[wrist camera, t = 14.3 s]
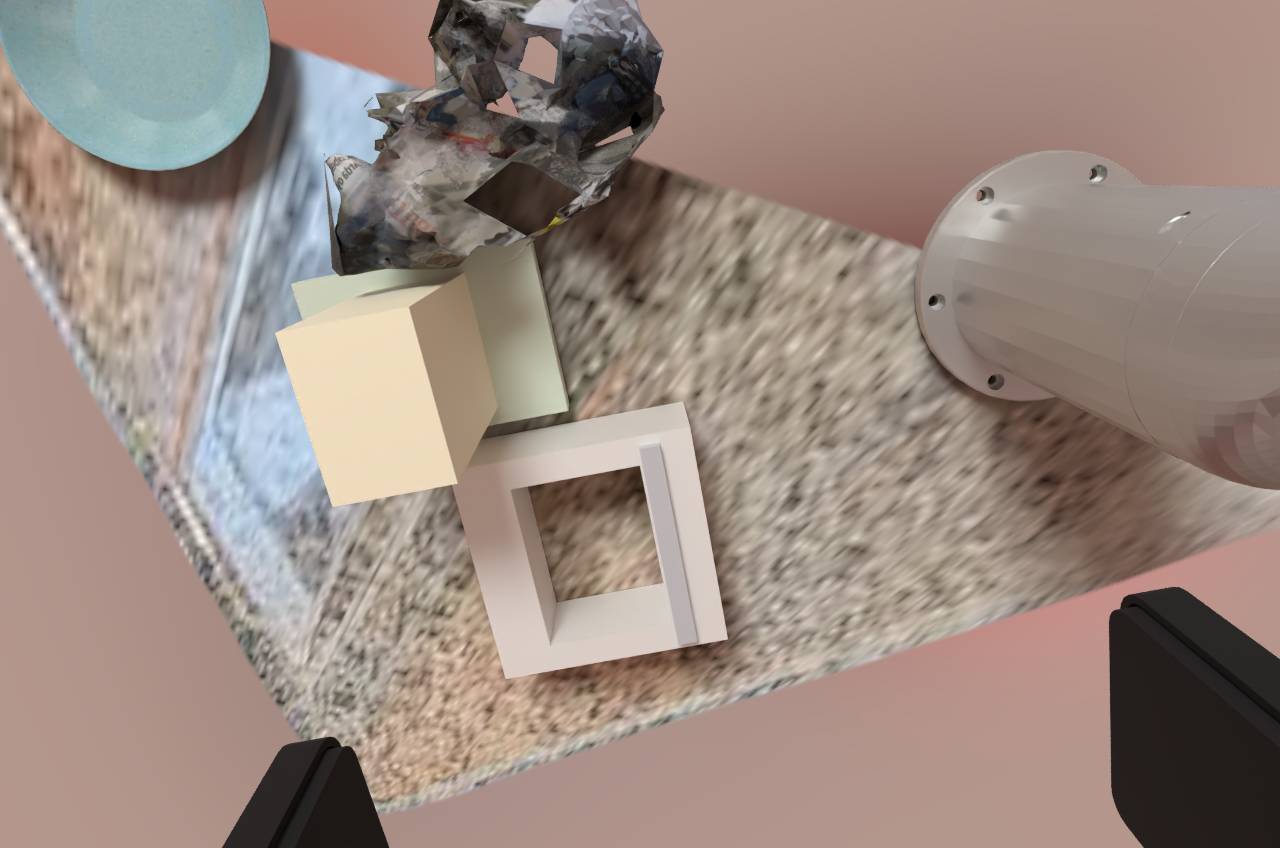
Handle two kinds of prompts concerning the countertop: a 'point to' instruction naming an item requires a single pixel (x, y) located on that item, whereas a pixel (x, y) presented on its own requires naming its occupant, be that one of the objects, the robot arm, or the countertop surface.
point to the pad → (482, 322)
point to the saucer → (141, 73)
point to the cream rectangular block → (392, 388)
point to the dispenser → (516, 561)
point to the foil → (495, 129)
